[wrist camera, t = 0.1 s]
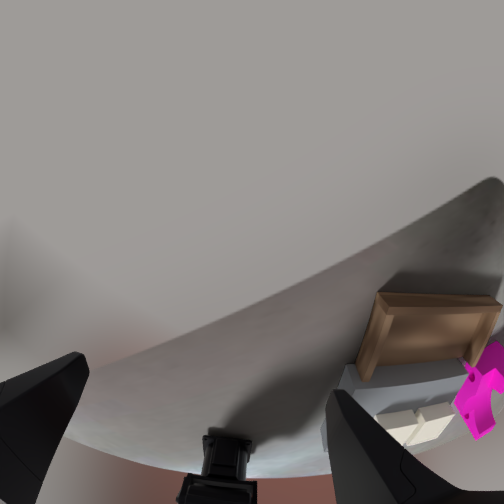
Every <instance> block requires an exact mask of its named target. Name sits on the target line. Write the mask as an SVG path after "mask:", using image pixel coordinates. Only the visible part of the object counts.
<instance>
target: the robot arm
mask: <svg viewBox="0 0 504 504" xmlns="http://www.w3.org/2000/svg"><path fill="white" fill-rule="evenodd" d="M88 377H89V367H88V365H87V362H86V358H85V356H84V354H82V353H79V352H72V353H70V354H67V355H65V356H63V357H60V358H58V359H56V360H53V361H51V362H49V363H46V364H44V365H42V366H39V367H37V368H35V369H33V370H30V371H28V372H25V373H23V374H20V375H18V376H16V377H13V378H11V379H8V380H6V381H4V382H1V383H0V504H35V503H36V499H37V497H38V494H39V492H40V489H41V486H42V484H43V481H44V478H45V475H46V473H47V471H48V468H49V466H50V463H51V461H52V459H53V456H54V454H55V452H56V450H57V447H58V445H59V443H60V440H61V438H62V436H63V434H64V432H65V430H66V428H67V426H68V424H69V422H70V419H71V417H72V415H73V413H74V411H75V409H76V407H77V405H78V403H79V400H80V397H81V395H82V392H83V389H84V387H85V384H86V382H87V379H88ZM326 428H327V446H328V453H329V459H330V465H331V471H332V477H333V483H334V489H335V496H336V501H337V504H504V491H467V490H462V489H459V488H457V487H455V486H453V485H452V484H450V483H449V482H447V481H446V480H444V479H443V478H441V477H440V476H438V475H437V474H435V473H434V472H433V471H431V470H430V469H429V468H427V467H426V466H424V465H423V464H422V463H421V462H420V461H418V460H417V459H416V458H415V457H414V456H413V455H412V454H411V453H409V452H408V451H407V450H406V449H404V447H403V446H402V445H401V444H400V443H399V442H398V441H397V440H396V439H395V438H393V437H392V436H391V435H390V434H389V433H388V432H387V431H386V430H385V429H384V428H383V427H382V426H381V425H380V424H379V423H378V422H377V421H376V420H375V419H374V418H373V417H372V416H371V415H370V414H369V413H368V412H367V411H366V410H365V409H364V408H363V407H362V406H361V405H360V404H359V403H358V402H357V401H356V400H355V399H354V398H353V397H352V396H351V395H350V394H349V393H348V392H347V391H345V390H344V389H334V390H332V391H331V393H330V396H329V399H328V401H327V404H326ZM202 440H203V450H204V462H203V467H202V472H201V475H195V474H192V473H188V475H187V477H184V481H183V485H182V488H181V490H180V492H179V493H178V496H177V497H176V502H177V503H178V504H257V481H246V468H247V463H248V462H249V459H250V453H251V447H252V441H251V440H243V439H232V438H223V437H215V436H208V435H204V436H203V438H202Z"/></svg>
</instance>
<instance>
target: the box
mask: <svg viewBox="0 0 504 504" xmlns="http://www.w3.org/2000/svg"><path fill="white" fill-rule="evenodd" d="M502 306H503V305H502V304H500V303H499V302H498V301H496V300H495V299H494V298H492V297H491V296H490V295H456V294H419V293H393V292H377V294H376V297H375V301H374V305H373V308H372V312H371V315H370V319H369V322H368V325H367V329H366V332H365V335H364V338H363V341H362V344H361V347H360V350H359V353H358V356H357V359H356V362H355V366H356V368H357V371H358V373H359V376H360V379H361V381H362V382H369V381H370V378H371V376H372V374H373V371H374V369H375V367H376V366H392V365H404V364H415V363H424V362H432V361H440V360H447V359H453V358H460V357H463V358H464V359H465V360H466V362H467V363H468V364H469V365H470V366H471V367H475V366H476V364H477V362H478V360H479V358H480V356H481V354H482V352H483V350H484V348H485V346H486V344H487V342H488V340H489V338H490V336H491V333H492V331H493V329H494V326H495V324H496V322H497V319H498V317H499V314H500V312H501V309H502Z"/></svg>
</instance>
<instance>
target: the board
mask: <svg viewBox="0 0 504 504" xmlns="http://www.w3.org/2000/svg"><path fill="white" fill-rule="evenodd" d="M468 375H469V373H468V371H467V370H466V369H465V367H464V366H463V365H462V364H461V362H460V361H459V360H458V359H457V358H453V359H447V360H440V361H432V362H424V363H415V364H404V365H392V366H376V367H375V369H374V371H373V374H372V376H371V378H370V381H369V382H362V381H361V379H360V376H359V373H358V371H357V368H356V366H355V364H346V366H345V369H344V371H343V374H342V377H341V380H340V382H339V385H338V388H337V389H344V390H345V391H347V392H348V393H349V394H350V395H351V396H352V397H353V398H354V399H355V400H356V401H357V402H358V403H359V404H360V405H361V406H362V407H363V408H364V409H365V410H366V411H367V412H368V413H369V414H370V415H371V416H372V417H373V418H374V417H375V415H379V414H386V413H393V412H400V411H406V410H411V409H412V410H413V412H414V414H415V413H416V411H417V410H418V408H422V407H426V406H431V405H435V404H440V403H444V402H449V404H451V403H452V401H453V400H454V398H455V396H456V395H457V393H458V392H459V390H460V388H461V387H462V385H463V383H464V382H465V380H466V378H467V377H468ZM320 430H321V436H322V442H323V448H324V452H328V446H327V428H326V418H325V420H324V422H323V424H322V427H321V429H320Z"/></svg>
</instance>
